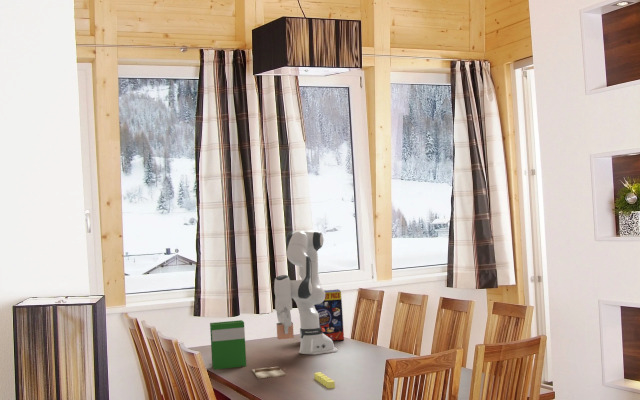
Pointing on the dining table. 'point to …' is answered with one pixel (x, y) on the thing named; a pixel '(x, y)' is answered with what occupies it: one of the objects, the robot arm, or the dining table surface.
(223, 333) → the hardback book
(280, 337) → the block
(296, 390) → the dining table surface
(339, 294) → the cereal box
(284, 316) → the robot arm
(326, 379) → the yellow segmented bar
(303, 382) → the dining table surface
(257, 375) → the board
